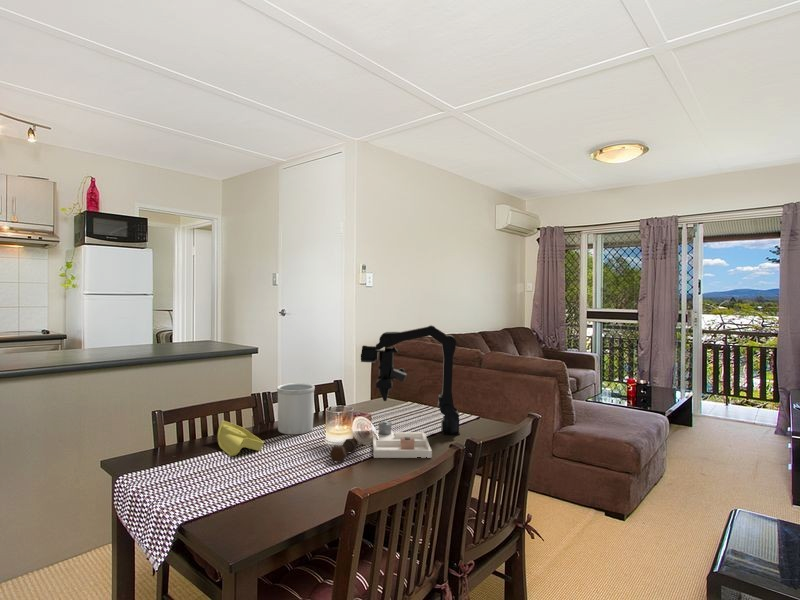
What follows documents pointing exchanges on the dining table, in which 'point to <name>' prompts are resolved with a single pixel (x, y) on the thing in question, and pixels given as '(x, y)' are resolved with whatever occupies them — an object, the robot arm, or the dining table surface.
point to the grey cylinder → (385, 428)
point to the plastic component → (236, 438)
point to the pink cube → (407, 443)
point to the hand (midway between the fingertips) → (385, 400)
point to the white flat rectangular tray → (391, 446)
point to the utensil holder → (295, 408)
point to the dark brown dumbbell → (343, 450)
